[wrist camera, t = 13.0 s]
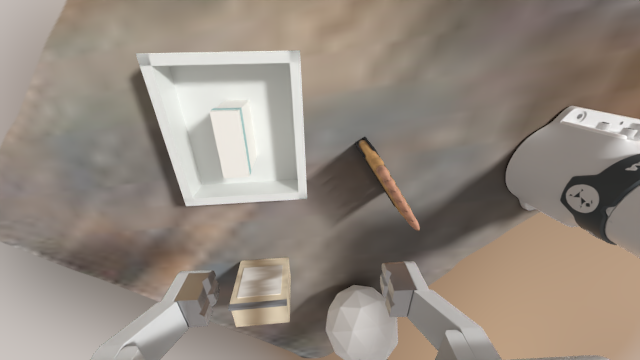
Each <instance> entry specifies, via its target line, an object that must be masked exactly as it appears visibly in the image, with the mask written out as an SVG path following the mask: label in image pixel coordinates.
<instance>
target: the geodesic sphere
mask: <svg viewBox="0 0 640 360" xmlns="http://www.w3.org/2000/svg"><path fill="white" fill-rule="evenodd" d="M385 302H386V298H385V297H384V296H383V295H381V294H380V293H379V292H378V291H376V290H375V289H374V288H373V287H366V286H359V285H352V286H350V287H349V288H347V289H345V290H343V291H341V292H339V293H338V294H337V295H336V297H335V299H334V300H333V302H332V303H331V305H330V307H329V310H328V315H327V323H326V332H327V335H328V337H329V339H330V342H331V344H332V346H333V349H334V351H335V353H336V354H337V355H338V356H340V357H341V358H343V359H344V360H387V358H388V356H389V355H390V354H391V352H392V351H393V350H394V348H395V347H396V345H397V344H398V331H397V317H389V314H388V311H387V308H386V305H385Z"/></svg>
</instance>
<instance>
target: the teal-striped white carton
mask: <svg viewBox="0 0 640 360" xmlns="http://www.w3.org/2000/svg"><path fill="white" fill-rule="evenodd" d="M210 117H211V121H212V126H213V130H214V135H215V140H216V144H217V149H218V154H219V158H220V163H221V168H222V172H223V177H224V178H239V177H249V175H250V174H251V170H252V167H253V165H254V162H255V159H256V157H257V153H256V146H255V138H254V131H253V124H252V117H251V109H250V102H249V100H226V101H225V102H223V103H222V104H220V105H219V106H217V107H216V108H213V109H211V111H210Z"/></svg>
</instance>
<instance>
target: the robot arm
mask: <svg viewBox="0 0 640 360" xmlns="http://www.w3.org/2000/svg"><path fill="white" fill-rule="evenodd" d="M506 185H507V187H508V189H509V191H510V192H511V193H512V194H514V195H515V196H516V197H518V198H519V201H520V204H521V206H522V207H523V208H524V209H526V210H529V211H530V210H535V209H537V210H539V211H540V212H543V213H544V214H546V215H548V216H550V217H551V218H553V219H555V220H557V221H559V222H561V223H563V224H564V225H567V226H569V227H574V226H576V227H577V226H580V227H581V228H583V229H585V230H586V231H588V232H589V233H590V234H591V235H593V236H595V237H597V238H600V239H602V240H604V241H606V242H607V243H610V244H614V245H618V246H620V247H622V248H624V249H625V250H627V251H629V252H630V253H632V254H634V255H635V256H637V257H639V258H640V119H636V118H631V117H626V116H621V115H616V114H611V113H606V112H601V111H596V110H591V109H586V108H581V107H576V106H570V107H568V108H566V109H565V110H564V111H563V112H561V113H560V114H559V115H558V116H557V117H556V118H555V119H554V120H553V121H552V122H551V123H550V124H548V125H546V126H545V127H543V128H541V129H540V130H538V131H536V132H535V133H534V134H532V135H531V136H530V137H528V138H527V139H526V140H525V141H524V142H523V143H522V144H521V145H520V146H519V148H518V149H517V150H516V152H515V153H514V154H513V156H512V158H511V160H510V162H509V164H508V167H507V170H506ZM381 269H382V272H383V273H382V274H381V275H380V286H381V291H382V294H383V296H384V297H385V298H386V302H385V305H386V308H387V311H388V314H389V317H408V319H409V320H410V321H411V322H412V323H413V324H414V325H415V326H416V327H417V328H418V330H419V331H420V332H421V333H422V334H423V335H424V336H425V337H426V338H427V339H428V340H429V342H430V343H431V344H432V345H433V346H434V347H435V348H436V349H437V350H438V354H437V356H436V358H435V360H502V359H501V357H500V356H499V354H498V353H497V351H496V349H495V348H494V346H493V344H492V343H491V342H490V340H489V338H488V337H487V335H486V333H485V332H484V330H483V328H482V327H480V326H479V325H478V324H477V323H475V322H474V321H472V320H471V319H470V318H469V317H467V316H466V315H465V314H463V313H462V312H461V311H459V310H458V309H457V308H456V307H454V306H453V305H451V304H450V303H449V302H448V301H446V300H445V299H444V298H442V297H441V296H440V295H438V294H437V293H436V292H434V291H433V290H429V289H428V287H427V285H426V283H425V281H424V279H423V277H422V275H421V273H420V271H419V269H418V267H417V265H416V263H415V262H414V261H408V262H387V263H383V264H382V268H381ZM215 277H216V274H215V272H214V271H181V272H179V273H178V274H177V276H176V278H175V279H174V281H173V283H172V284H171V286H170V288H169V289H168V291H167V293H166V294H165V296H164V298H163V299H162V301H161V302H158V303H156V304H155V305H154V306H152V307H151V308H150V309H148V310H147V311H146V312H144V313H143V314H142V315H140V316H139V317H138V318H137V319H135V320H134V321H133V322H131V323H130V324H129V325H127V326H126V327H125V328H123V329H122V330H121V331H120V332H118V333H117V334H115V335H114V336H113V337H111V338H110V339H109V340H107V341H106V342H105V343H103V344H102V345H101V346H100V347H99V348H98V349H97V351H96V352H95V354H94V355H93V356H92V358H91V359H90V360H160V359H161V358H162V357H163V356H164V355H165V354H166V353H167V352H168V350H169V349H170V348H171V347H172V346H173V345H174V344H175V343H176V342H177V341H178V340H179V339H180V338H181V336H182V335H183V334H184V333H185V332H186V331H187V330H188V329H189V328H188V327H200V326H208V324H209V321H210V319H211V316H212V313H213V310H212V306H213V305H215V304H216V303H217V300H218V297H219V284H218V282H217V281H216V280H215ZM512 360H610V359H608V358H605V357H602V356H596V355H585V356H568V357H549V358H531V359H512Z"/></svg>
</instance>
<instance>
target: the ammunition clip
mask: <svg viewBox="0 0 640 360" xmlns="http://www.w3.org/2000/svg"><path fill="white" fill-rule="evenodd" d="M355 145H356V146H357V148H358V149H359V151H360V153H361V154H362V156H363V157H364V159H365V160H366V162H367V164H368V165H369V167H370V168H371V170H372V172H373V173H374V175H375V176H376V178H377V180H378V181H379V183H380V184H381V186H382V187H383V189H384V191H385V192H386V194H387V195H388V197H389V198H390V200H391V202H392V203H393V205H394V206H395V207H396V208H397V209H398V211H399V212H400V214H401V215H402V216H403V217H404V218H405V219H406V220H407V222H408V223H409V224H410V225H411V226H412V227H413V228H414V229H415V230H417V231H419V230H420V227H419V224H418V221H417V219H416V218H415V216H414V214H413V213H412V211H411V208H410V207H409V205H408V204H407V202H406V200H405V198H404V197H403V195H402V194H401V192H400V190H399V188H398V187H397V185H396V183H395V181H394V180H393V178H392V177H391V175H390V173H389V171H388V170H387V168H386V167H385V165H384V163H383V161H382V159H381V158H380V156H379V155H378V153H377V151H376V150H375V148H374V147H373V146H372V145H371V143H370V142H369V141H368V140H367V138H366V137H364V138H362V139H361V140H359V141H358V142H356V143H355Z"/></svg>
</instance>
